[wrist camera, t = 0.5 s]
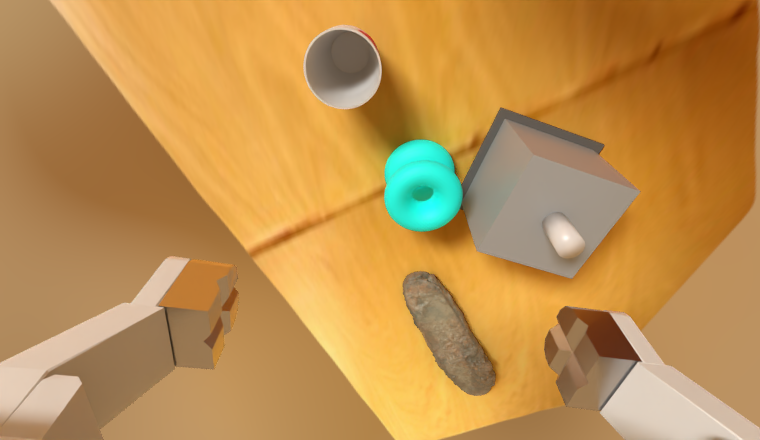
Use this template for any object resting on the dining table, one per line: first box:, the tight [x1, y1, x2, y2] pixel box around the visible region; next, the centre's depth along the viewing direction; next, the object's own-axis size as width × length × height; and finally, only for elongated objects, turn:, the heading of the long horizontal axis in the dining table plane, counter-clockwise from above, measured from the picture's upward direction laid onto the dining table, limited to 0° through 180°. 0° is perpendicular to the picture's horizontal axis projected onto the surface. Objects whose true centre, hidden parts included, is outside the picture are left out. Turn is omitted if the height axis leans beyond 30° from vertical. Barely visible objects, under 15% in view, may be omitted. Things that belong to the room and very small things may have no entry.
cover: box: [462, 119, 641, 279], centre depth 51 cm, size 14×14×17 cm
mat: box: [460, 108, 604, 210], centre depth 58 cm, size 16×16×1 cm
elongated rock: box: [403, 271, 495, 396], centre depth 75 cm, size 35×5×10 cm
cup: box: [304, 25, 382, 109], centre depth 45 cm, size 8×8×10 cm
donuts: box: [384, 140, 463, 232], centre depth 54 cm, size 10×10×10 cm
